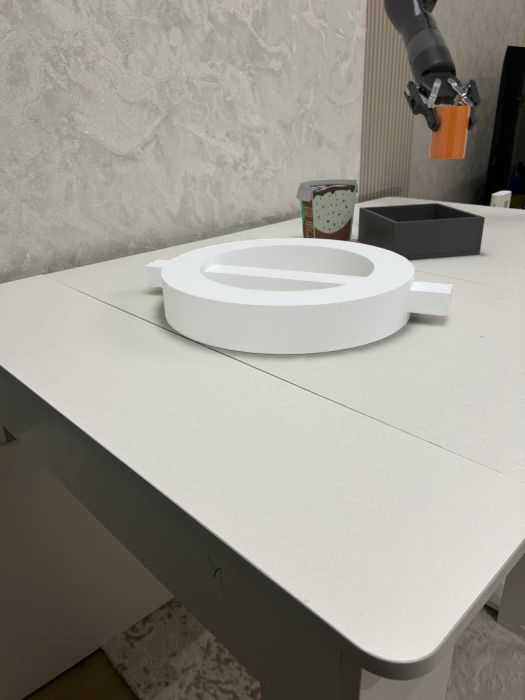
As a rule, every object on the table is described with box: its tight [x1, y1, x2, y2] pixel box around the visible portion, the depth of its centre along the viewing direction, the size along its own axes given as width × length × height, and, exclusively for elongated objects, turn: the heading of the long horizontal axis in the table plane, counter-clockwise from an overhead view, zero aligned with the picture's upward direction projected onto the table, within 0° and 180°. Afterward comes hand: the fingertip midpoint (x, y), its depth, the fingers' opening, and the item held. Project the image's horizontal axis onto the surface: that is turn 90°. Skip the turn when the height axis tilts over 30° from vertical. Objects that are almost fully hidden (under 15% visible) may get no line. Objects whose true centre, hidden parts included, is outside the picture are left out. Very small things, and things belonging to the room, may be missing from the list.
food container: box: [295, 178, 359, 242], centre depth 90 cm, size 12×6×10 cm, turn 134°
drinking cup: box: [428, 105, 471, 160], centre depth 102 cm, size 6×6×9 cm
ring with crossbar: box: [143, 237, 454, 355], centre depth 63 cm, size 28×28×5 cm
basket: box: [357, 202, 486, 261], centre depth 87 cm, size 14×14×6 cm
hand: (454, 127), depth 100 cm, fingers closed on drinking cup, 6 cm apart
